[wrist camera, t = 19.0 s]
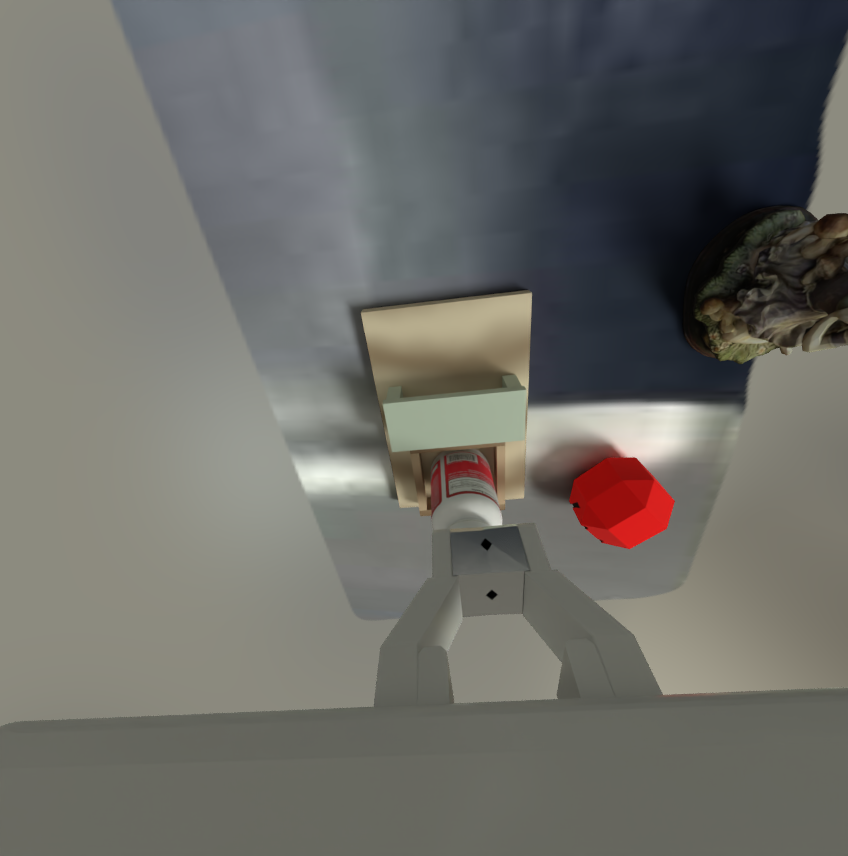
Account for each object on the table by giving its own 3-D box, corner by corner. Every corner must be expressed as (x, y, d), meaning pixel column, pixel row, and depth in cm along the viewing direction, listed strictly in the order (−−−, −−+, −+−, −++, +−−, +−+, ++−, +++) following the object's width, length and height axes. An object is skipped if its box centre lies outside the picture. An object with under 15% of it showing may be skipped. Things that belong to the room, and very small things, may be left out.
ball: (551, 478, 40) (576, 530, 34) (615, 434, 37) (655, 482, 31) (592, 514, 43) (621, 568, 36) (654, 476, 40) (698, 528, 33)
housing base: (363, 309, 31) (356, 319, 28) (528, 289, 30) (538, 297, 27) (400, 500, 42) (398, 520, 39) (521, 491, 41) (528, 511, 38)
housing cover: (386, 387, 33) (382, 403, 30) (517, 374, 32) (526, 389, 29) (394, 433, 36) (392, 452, 33) (516, 421, 35) (524, 440, 32)
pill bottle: (453, 498, 40) (461, 586, 31) (418, 463, 38) (415, 548, 28) (500, 470, 38) (524, 556, 29) (466, 432, 36) (480, 512, 26)
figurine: (725, 194, 26) (1007, 179, 14) (860, 217, 27) (1250, 223, 14) (651, 349, 32) (798, 439, 20) (763, 364, 33) (975, 461, 20)
